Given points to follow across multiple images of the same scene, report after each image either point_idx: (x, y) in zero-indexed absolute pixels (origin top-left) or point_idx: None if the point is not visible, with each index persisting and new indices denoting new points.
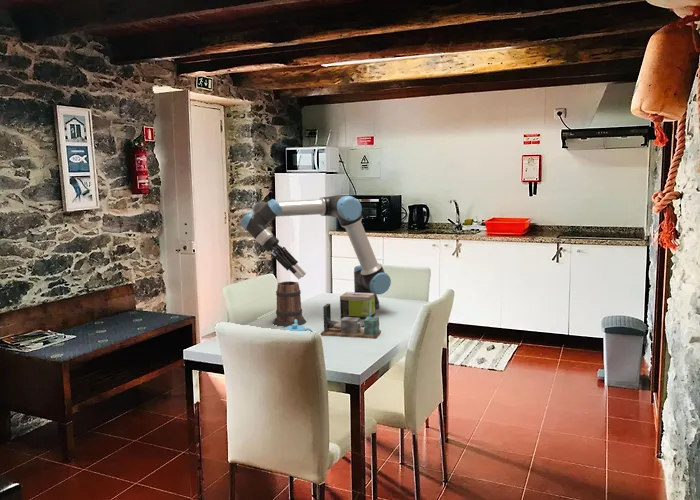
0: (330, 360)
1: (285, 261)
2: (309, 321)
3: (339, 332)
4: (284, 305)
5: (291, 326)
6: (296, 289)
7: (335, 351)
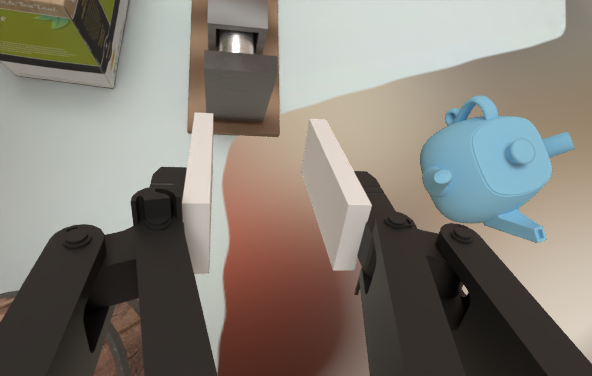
0: (505, 51)
1: (510, 288)
2: None
3: None
4: (141, 369)
5: (497, 177)
6: None
7: (432, 51)
